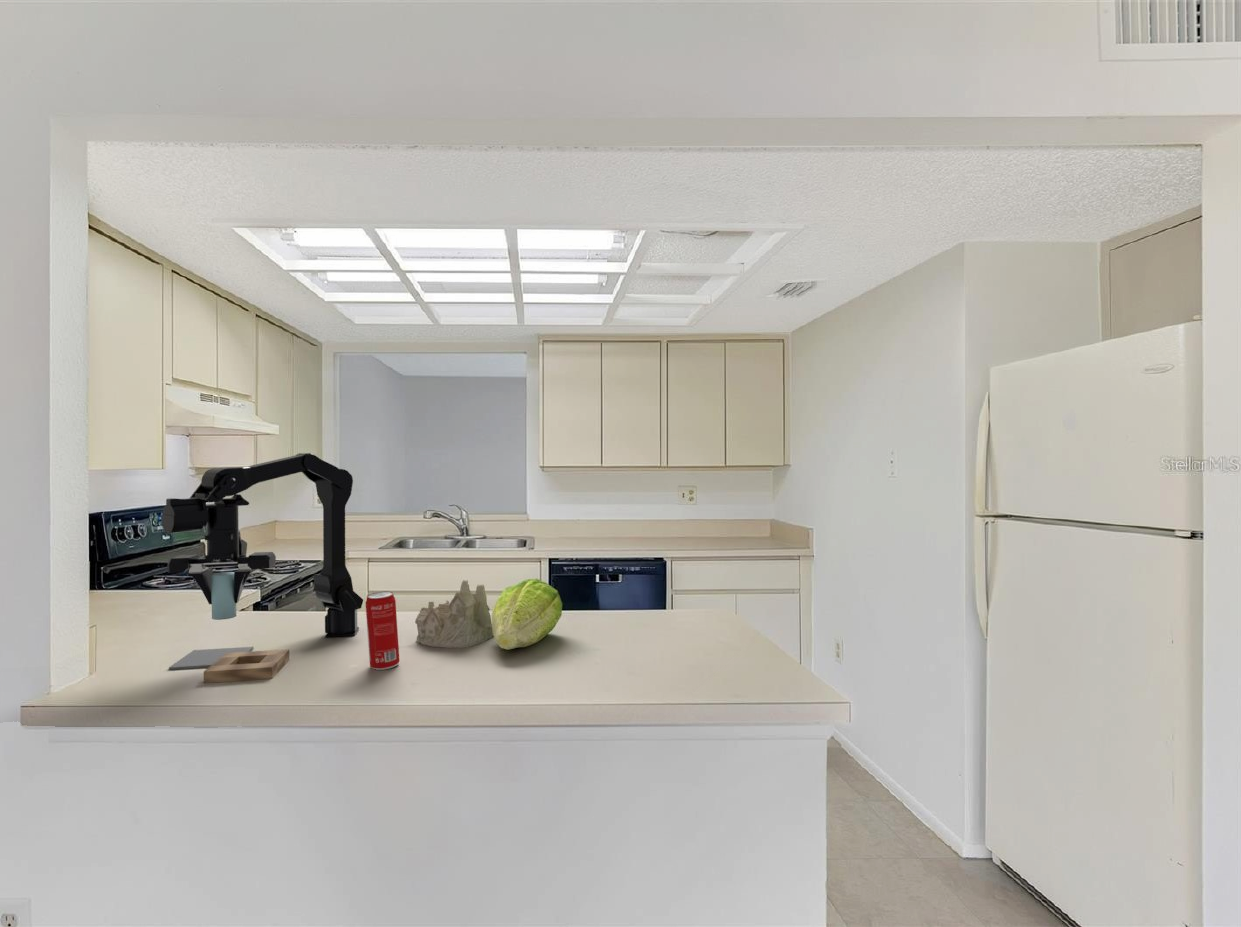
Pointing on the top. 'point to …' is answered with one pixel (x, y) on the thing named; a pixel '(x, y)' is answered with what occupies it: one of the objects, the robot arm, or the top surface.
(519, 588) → the lettuce
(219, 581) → the peg
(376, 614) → the beverage can
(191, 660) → the mat
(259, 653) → the pocket block
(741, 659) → the top surface
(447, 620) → the ceramic cottage
